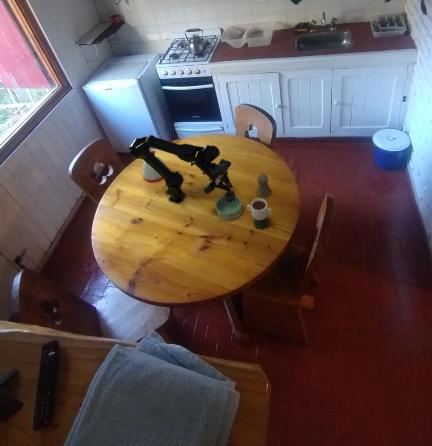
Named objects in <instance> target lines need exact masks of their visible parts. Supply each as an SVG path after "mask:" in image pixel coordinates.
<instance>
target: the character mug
mask: <svg viewBox="0 0 432 446" xmlns="http://www.w3.org/2000/svg"><path fill="white" fill-rule="evenodd" d="M246 207H247V211H249V212H251V216H252V218H253V225H254V226H255V227H256V228H257V229H261V230H262V229H264V228H266V227H268V224H269V220H268V215H270V216H271V215H272V214H273V211H272V209H271V208H269V207H268V203H267V201H266V199H264V198H262V197H260V198H259V197H258V198H254V199H253V200H252V201H251V202H250V204H247V206H246Z"/></svg>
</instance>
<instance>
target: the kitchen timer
mask: <svg viewBox="0 0 432 446" xmlns="http://www.w3.org/2000/svg"><path fill="white" fill-rule="evenodd" d="M150 152H151V153H152V154H153V155H154V156H156V150H151V149H150ZM156 157H157V158H158V159H159V160H160V161H161V162H162V163H163V164H164V165H165V166H166V167H167V168H168V166H167V164H166V162H164V161H163V159H161V158H160V157H159V156H156ZM141 167H142V176H143V179H144V181H146V182H148V183H157V182H160V181H162V180H164V178H163V177H162V176H161V175H159V174H158V173H157V172H156V171H155V170H154V169H153V168H152V167H151V166H150V165H149V164H147V163H146V162H145V161H144V160H143V163H142V164H141Z"/></svg>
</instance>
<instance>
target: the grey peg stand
mask: <svg viewBox="0 0 432 446" xmlns="http://www.w3.org/2000/svg"><path fill="white" fill-rule="evenodd" d="M230 182H231V181H230ZM230 182H226V183H224V184H225V185H226V186H227V187H228V188H229V189H230V190H231V191H230V192H228V191H226V192H225V193H224V195H225V200H226V201H228V202H233V201H234V200H235V199H236V196H237V195H236V193H235V191H234V190H232V188H231V186H230ZM235 195H236V196H235Z"/></svg>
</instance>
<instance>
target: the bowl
mask: <svg viewBox="0 0 432 446" xmlns="http://www.w3.org/2000/svg"><path fill="white" fill-rule="evenodd" d="M235 196H236V199H235V200H234V201H233V202H228V201H226V200H225V194H224V195H221V196H219V198H217V200H215V205H214V206H215V210H216V214H217V216H218V217H219V218H220V219H222V220H223V221H233V220H236V219H238V218H239V217H240V216H241V215H242V213H243V203H242V200H241V198H240V196H238V195H236V194H235Z"/></svg>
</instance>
